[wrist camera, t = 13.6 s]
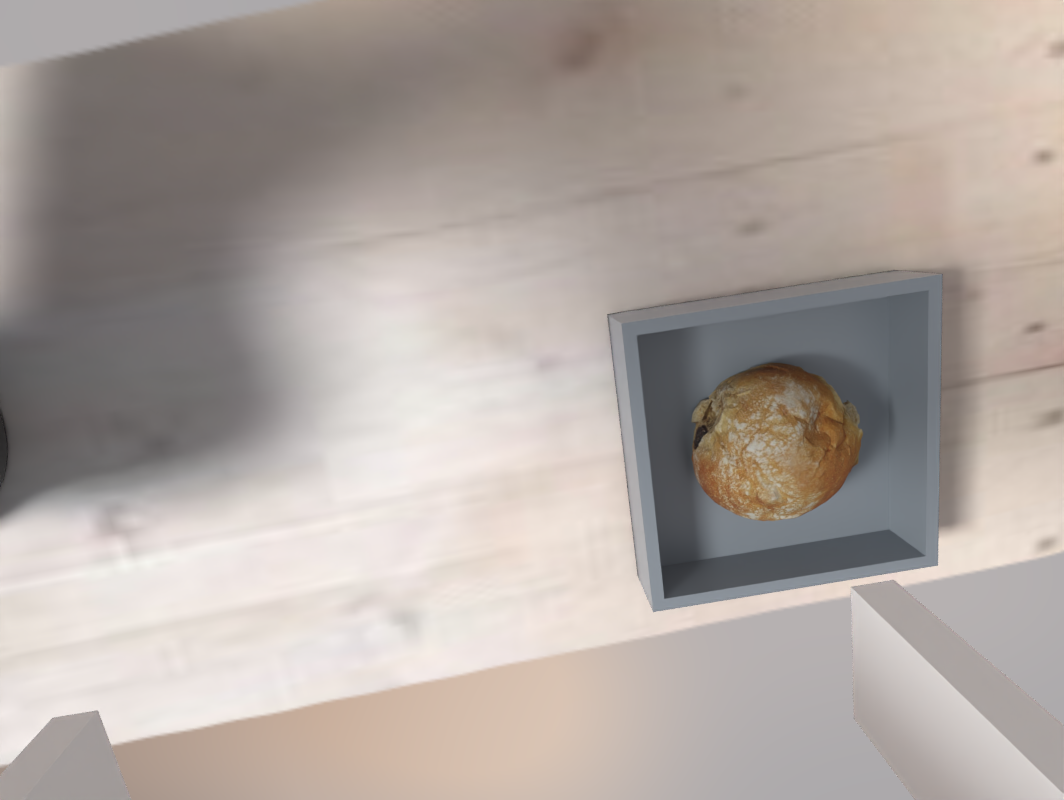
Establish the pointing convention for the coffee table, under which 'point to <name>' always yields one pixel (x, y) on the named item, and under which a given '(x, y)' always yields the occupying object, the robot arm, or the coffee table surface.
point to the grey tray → (857, 376)
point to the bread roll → (774, 442)
